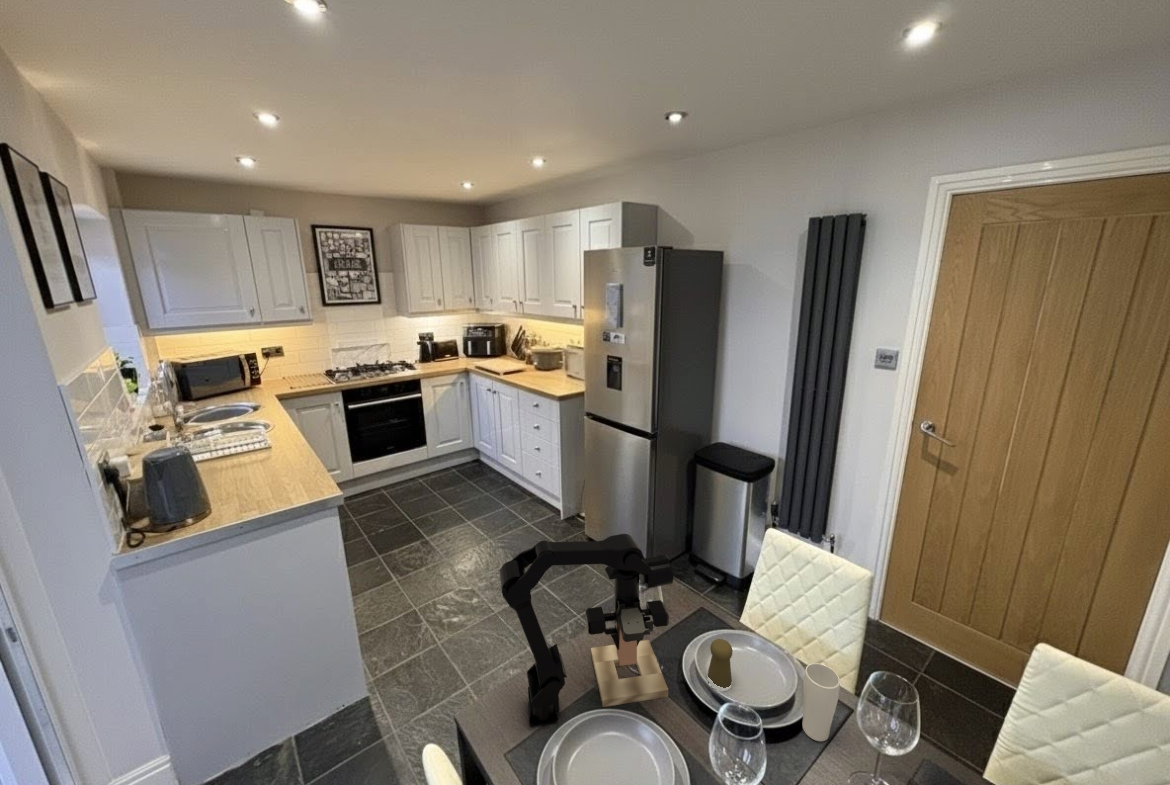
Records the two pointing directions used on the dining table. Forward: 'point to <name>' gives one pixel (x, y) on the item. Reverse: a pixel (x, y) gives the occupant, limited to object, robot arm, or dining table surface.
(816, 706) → the drinking glass
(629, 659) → the brown tall block
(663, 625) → the robot arm
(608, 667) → the wooden square hole board
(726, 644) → the olive brown pawn
